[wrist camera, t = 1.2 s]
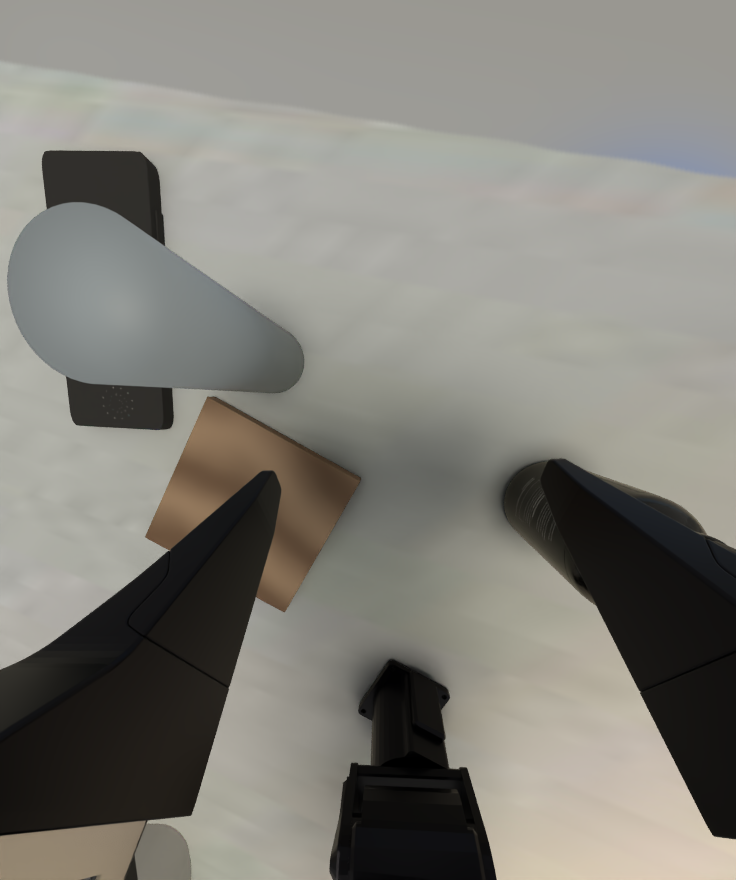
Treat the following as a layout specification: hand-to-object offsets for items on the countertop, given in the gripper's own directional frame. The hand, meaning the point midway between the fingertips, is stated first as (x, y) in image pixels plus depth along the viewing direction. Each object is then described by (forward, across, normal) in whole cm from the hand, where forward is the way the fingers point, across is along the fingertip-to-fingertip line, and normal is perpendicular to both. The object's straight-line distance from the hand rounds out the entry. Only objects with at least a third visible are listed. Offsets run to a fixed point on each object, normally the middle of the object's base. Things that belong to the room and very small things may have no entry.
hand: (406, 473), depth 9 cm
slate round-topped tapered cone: (+15, +10, +1) cm, 18 cm away
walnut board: (+9, +12, +12) cm, 19 cm away
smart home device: (+18, +22, -3) cm, 28 cm away
